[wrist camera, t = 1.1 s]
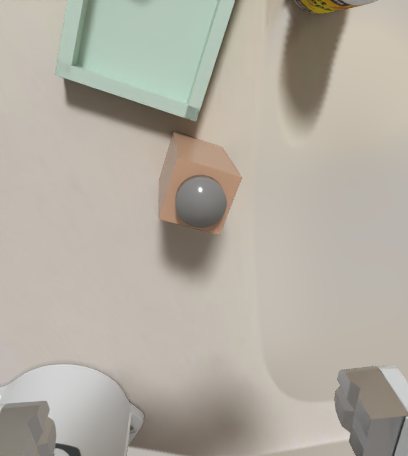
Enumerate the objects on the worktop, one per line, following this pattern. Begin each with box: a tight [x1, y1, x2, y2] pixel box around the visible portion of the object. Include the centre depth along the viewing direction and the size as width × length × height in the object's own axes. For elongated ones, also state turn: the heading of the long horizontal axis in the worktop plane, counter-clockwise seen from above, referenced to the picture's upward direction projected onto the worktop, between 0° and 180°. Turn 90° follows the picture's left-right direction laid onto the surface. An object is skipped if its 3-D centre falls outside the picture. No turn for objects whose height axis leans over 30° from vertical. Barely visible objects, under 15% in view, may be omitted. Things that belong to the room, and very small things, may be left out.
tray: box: [55, 0, 235, 122], centre depth 27 cm, size 13×11×2 cm
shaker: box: [159, 131, 242, 235], centre depth 29 cm, size 5×5×10 cm
